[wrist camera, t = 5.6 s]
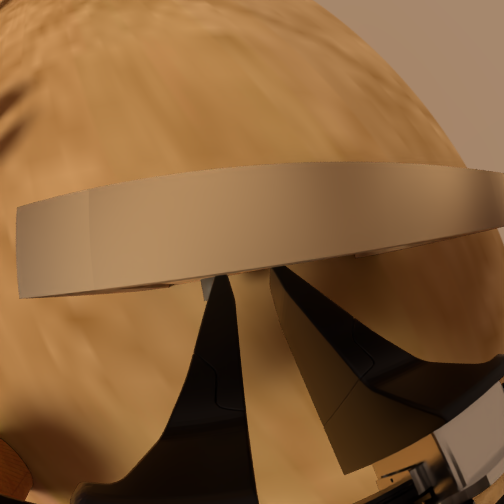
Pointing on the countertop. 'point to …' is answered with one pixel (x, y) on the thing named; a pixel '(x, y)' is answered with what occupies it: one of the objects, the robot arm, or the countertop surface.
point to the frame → (243, 222)
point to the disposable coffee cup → (13, 473)
